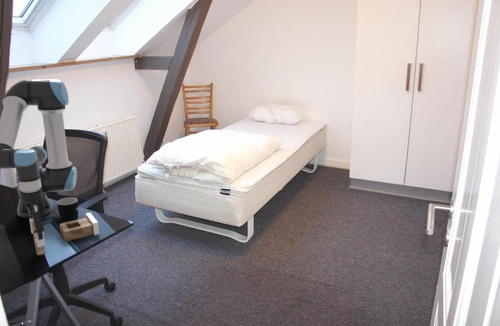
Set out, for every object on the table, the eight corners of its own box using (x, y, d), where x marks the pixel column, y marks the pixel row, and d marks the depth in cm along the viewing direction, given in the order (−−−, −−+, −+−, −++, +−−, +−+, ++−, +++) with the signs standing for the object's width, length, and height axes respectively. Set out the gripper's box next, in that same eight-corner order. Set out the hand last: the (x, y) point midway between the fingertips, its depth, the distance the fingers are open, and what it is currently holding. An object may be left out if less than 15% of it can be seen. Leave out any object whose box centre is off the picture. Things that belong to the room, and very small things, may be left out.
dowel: (36, 252, 160) (30, 221, 156) (44, 250, 162) (39, 219, 157) (37, 255, 158) (32, 224, 153) (45, 253, 159) (40, 222, 155)
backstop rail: (86, 225, 184) (85, 213, 182) (91, 224, 185) (90, 212, 183) (94, 235, 174) (93, 223, 173) (99, 234, 176) (97, 222, 174)
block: (60, 232, 176) (59, 223, 174) (87, 226, 182) (86, 217, 181) (65, 241, 169) (64, 232, 167) (93, 234, 175) (92, 225, 174)
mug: (80, 222, 186) (78, 203, 183) (59, 226, 182) (56, 206, 179) (79, 212, 196) (77, 193, 193) (59, 215, 192) (56, 196, 189)
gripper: (15, 181, 158) (23, 229, 165) (24, 202, 139) (33, 255, 146) (35, 178, 163) (42, 225, 169) (47, 197, 144) (55, 249, 150)
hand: (38, 239), depth 157 cm, fingers open, 13 cm apart
